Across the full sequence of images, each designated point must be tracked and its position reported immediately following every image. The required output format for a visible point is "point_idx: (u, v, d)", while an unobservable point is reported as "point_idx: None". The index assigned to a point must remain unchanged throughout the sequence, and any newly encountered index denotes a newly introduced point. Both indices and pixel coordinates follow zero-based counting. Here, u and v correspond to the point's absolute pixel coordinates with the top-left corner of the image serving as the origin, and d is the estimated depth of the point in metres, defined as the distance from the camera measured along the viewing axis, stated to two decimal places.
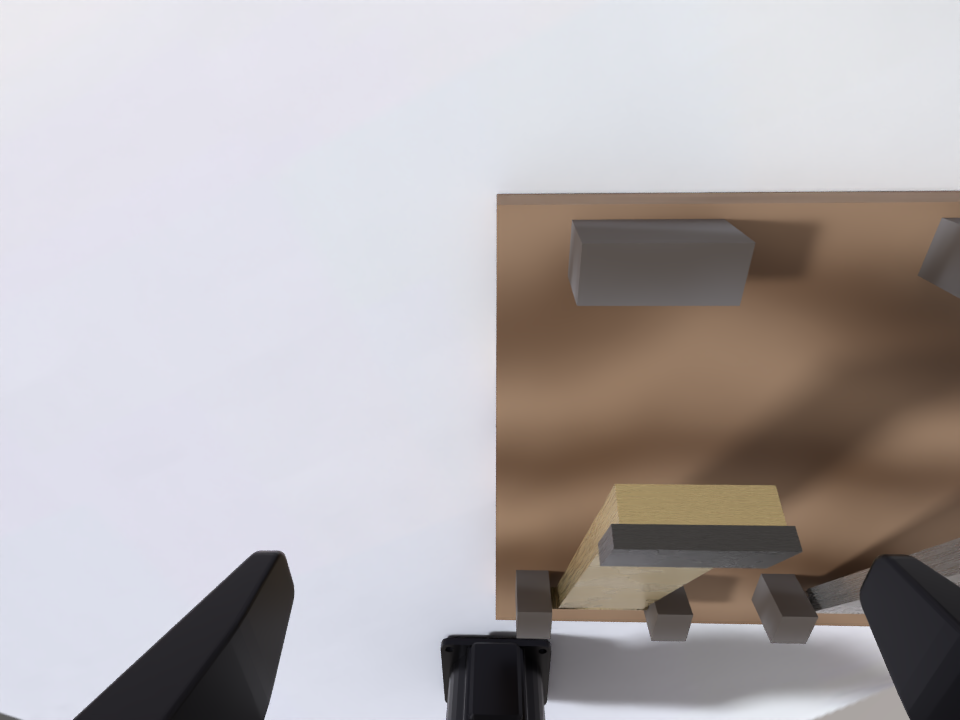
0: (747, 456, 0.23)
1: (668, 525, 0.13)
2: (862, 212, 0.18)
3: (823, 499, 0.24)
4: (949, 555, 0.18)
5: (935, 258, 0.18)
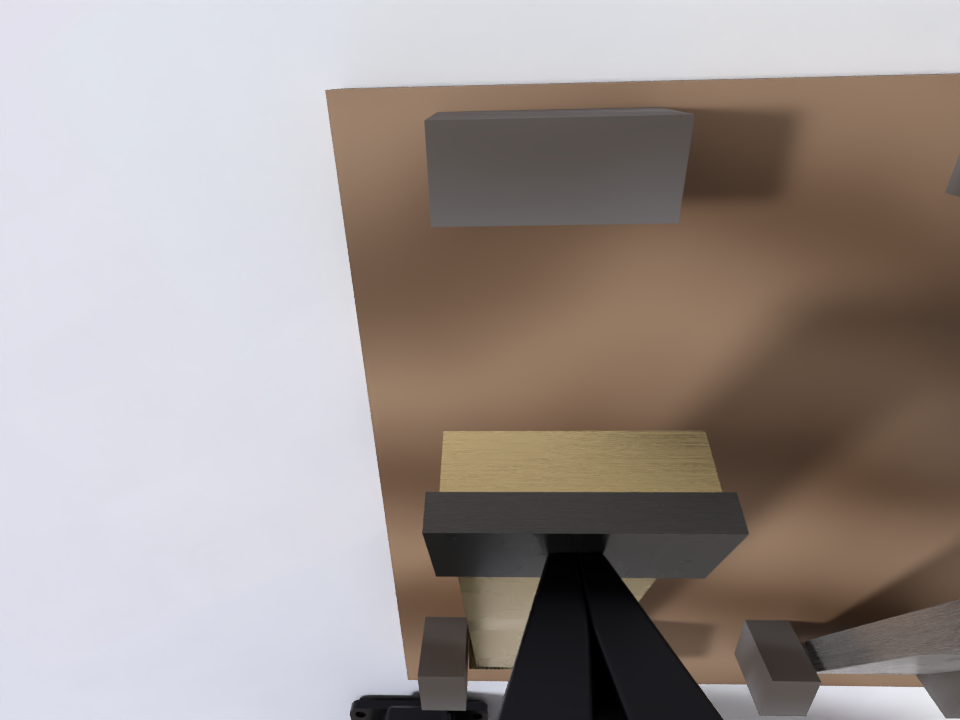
0: (716, 463, 0.17)
1: (522, 495, 0.08)
2: (861, 93, 0.12)
3: (822, 521, 0.18)
4: None
5: None
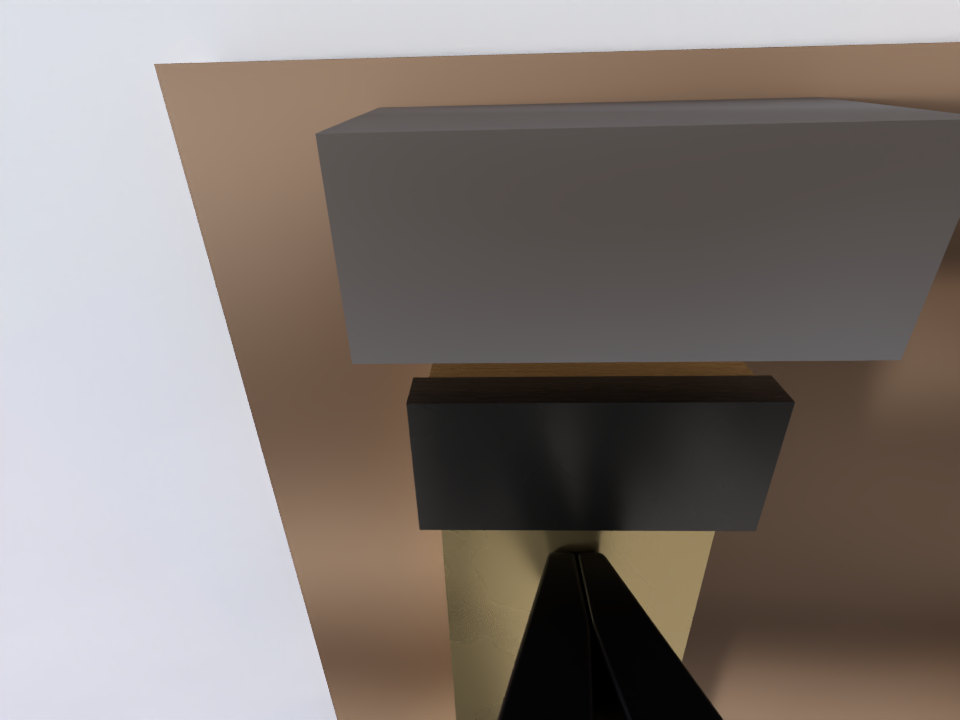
0: (834, 648, 0.11)
1: (525, 383, 0.07)
2: None
3: None
4: None
5: None
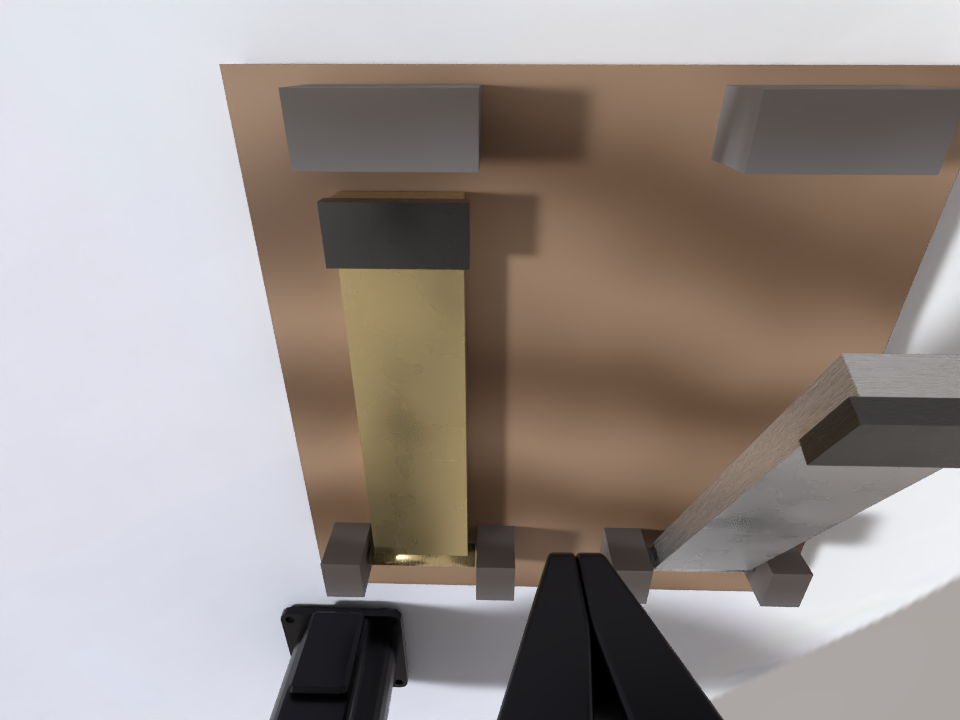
0: (562, 384, 0.20)
1: None
2: (635, 77, 0.15)
3: (655, 437, 0.21)
4: (737, 474, 0.15)
5: (722, 133, 0.16)
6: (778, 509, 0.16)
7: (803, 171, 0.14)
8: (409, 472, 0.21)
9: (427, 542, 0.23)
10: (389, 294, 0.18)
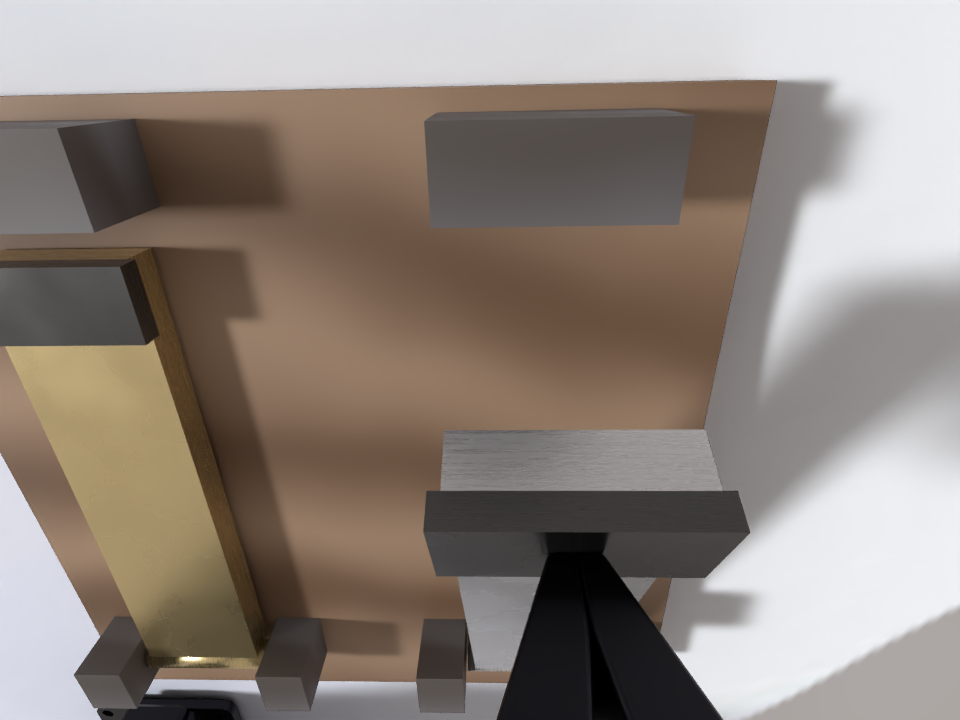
0: (332, 464, 0.17)
1: (15, 264, 0.13)
2: (322, 105, 0.12)
3: None
4: None
5: None
6: (528, 612, 0.13)
7: (505, 223, 0.11)
8: (161, 569, 0.18)
9: (207, 644, 0.19)
10: (74, 372, 0.14)
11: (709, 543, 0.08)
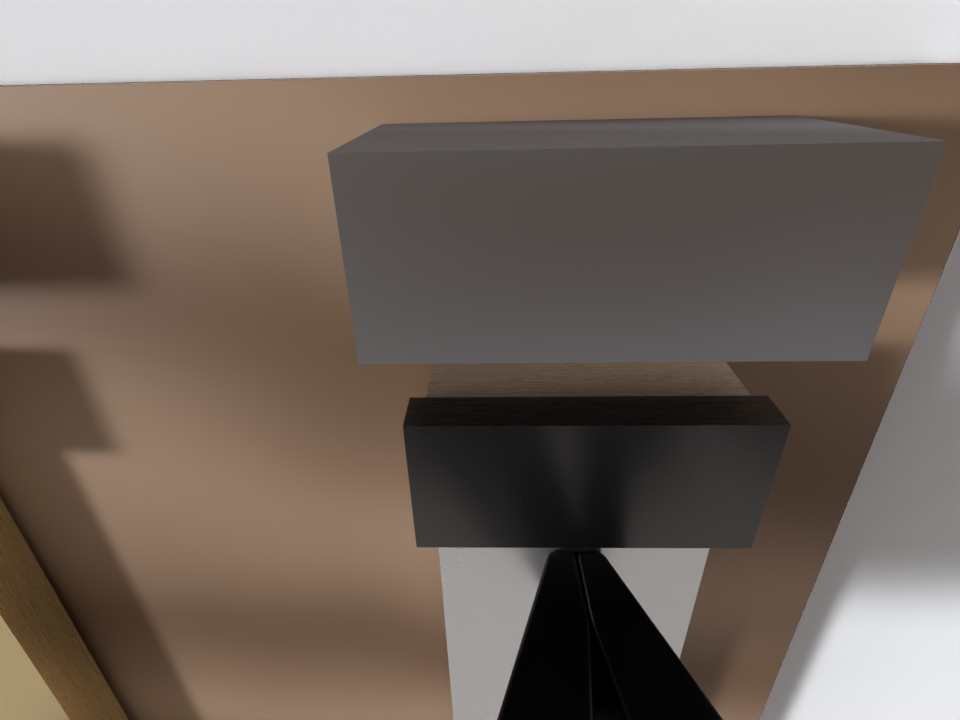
0: (253, 637, 0.12)
1: None
2: (171, 112, 0.07)
3: (439, 703, 0.13)
4: None
5: None
6: None
7: (509, 356, 0.05)
8: None
9: None
10: None
11: (745, 455, 0.06)
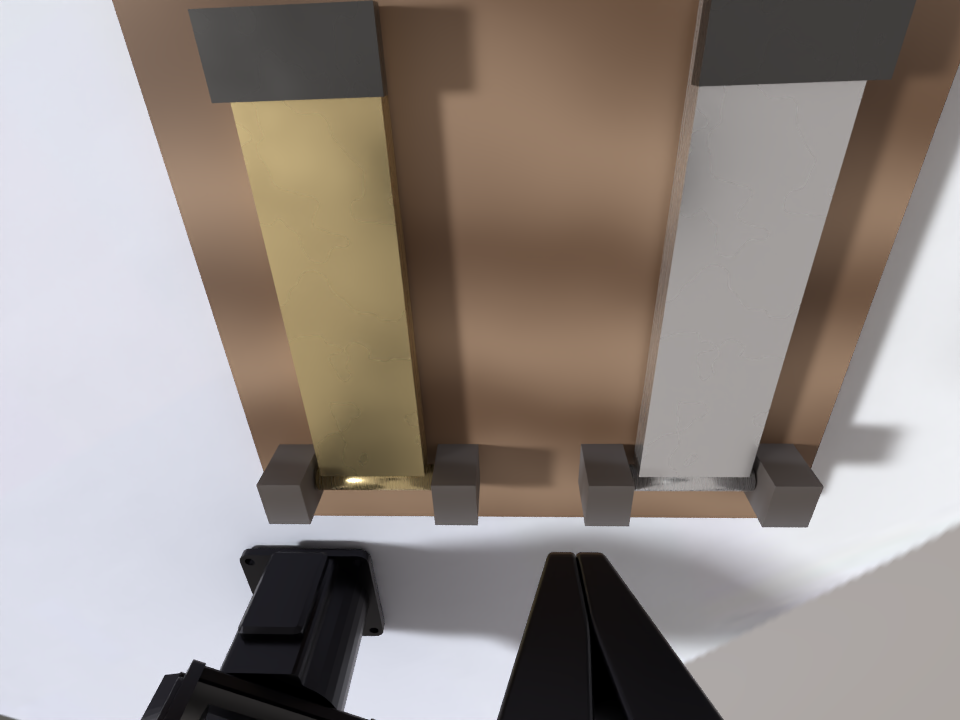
0: (519, 264, 0.17)
1: None
2: None
3: (634, 329, 0.18)
4: (671, 222, 0.16)
5: None
6: (724, 270, 0.16)
7: None
8: (347, 374, 0.18)
9: (377, 461, 0.20)
10: (296, 142, 0.15)
11: (896, 0, 0.12)
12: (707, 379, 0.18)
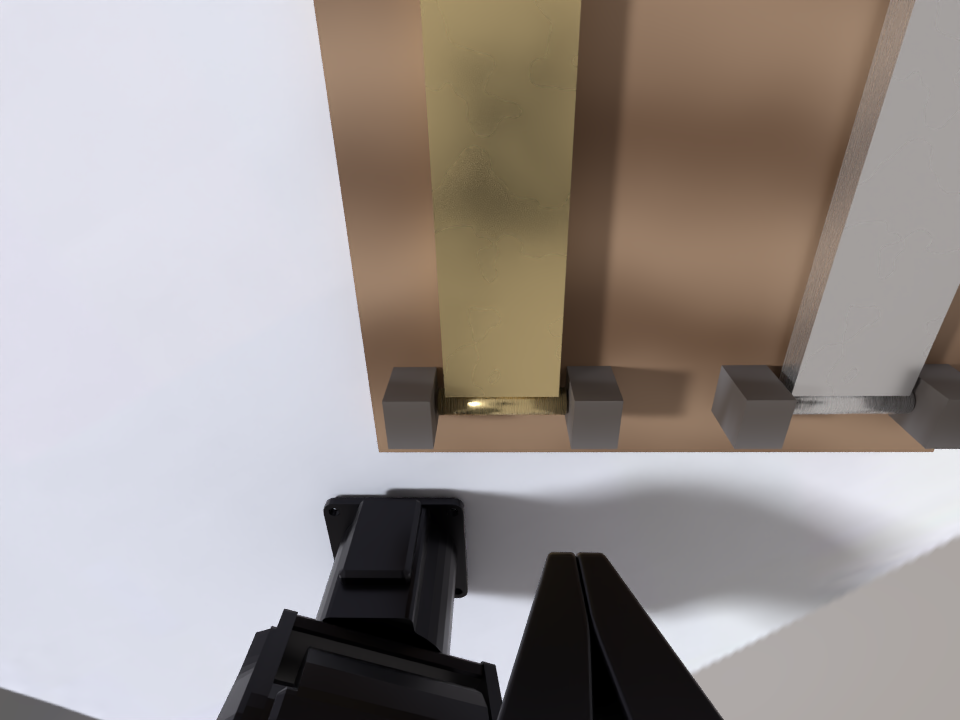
0: (689, 150, 0.16)
1: None
2: None
3: (800, 228, 0.17)
4: (871, 93, 0.14)
5: None
6: (928, 145, 0.15)
7: None
8: (493, 274, 0.17)
9: (510, 378, 0.19)
10: None
11: None
12: (886, 278, 0.16)
